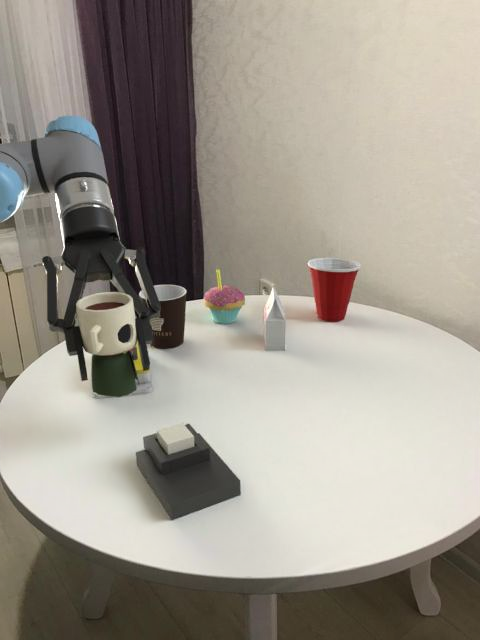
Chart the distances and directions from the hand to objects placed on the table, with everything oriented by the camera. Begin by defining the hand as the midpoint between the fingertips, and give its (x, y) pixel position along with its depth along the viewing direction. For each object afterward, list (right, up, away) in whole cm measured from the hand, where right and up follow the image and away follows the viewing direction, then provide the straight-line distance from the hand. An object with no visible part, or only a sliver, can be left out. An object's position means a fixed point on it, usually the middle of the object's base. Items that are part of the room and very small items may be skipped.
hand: (115, 372), depth 76 cm
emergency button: (-5, -1, +25) cm, 25 cm away
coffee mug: (-1, +5, +38) cm, 38 cm away
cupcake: (+11, +9, +47) cm, 49 cm away
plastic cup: (+33, +10, +48) cm, 59 cm away
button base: (+9, -14, -1) cm, 17 cm away
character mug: (-1, -3, +5) cm, 6 cm away
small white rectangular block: (+8, -9, 0) cm, 12 cm away
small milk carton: (+21, +4, +36) cm, 42 cm away
